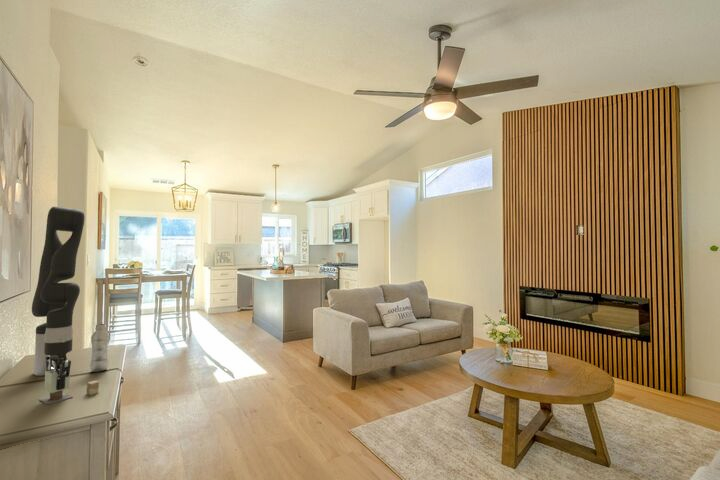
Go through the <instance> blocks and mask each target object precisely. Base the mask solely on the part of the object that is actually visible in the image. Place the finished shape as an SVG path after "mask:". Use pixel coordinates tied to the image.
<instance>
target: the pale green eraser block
mask: <svg viewBox="0 0 720 480" xmlns="http://www.w3.org/2000/svg"><path fill="white" fill-rule="evenodd" d="M57 370H60V369H57ZM59 373H60V372H59ZM56 376H57V373H54V370H51V371H45V375H44V389H43V390H44V391H45V392H46V393H49V394H50V393H54V392H58V391H61V390H63V391H64V390H68V389H70V385H71V384H70V378H71V371H70V372H69V377H66V378H65V388H64V389H61V390H57V389H56V384H57V377H56Z"/></svg>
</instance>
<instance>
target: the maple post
mask: <svg viewBox="0 0 720 480" xmlns="http://www.w3.org/2000/svg"><path fill="white" fill-rule="evenodd" d="M99 384H100V382H99V381H98V380H92V381H88V382H86V394H87V395H89V396H92V395H95V394H99V389H100V388H99V387H100V385H99Z"/></svg>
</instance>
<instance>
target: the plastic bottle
mask: <svg viewBox="0 0 720 480" xmlns="http://www.w3.org/2000/svg"><path fill="white" fill-rule="evenodd" d="M94 330H95V331H94V332H93V334H91V336H90V343H91V352H92V353H91V360H90V363H89V369H90V371H91V372H94V373H97V372H102V371H105V370H107V369H108V367H109V363H110V362H109V359H108V347H109V339H110V334H109V333H108V331H107V324H106V323H98V324H95V329H94Z"/></svg>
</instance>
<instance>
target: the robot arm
mask: <svg viewBox="0 0 720 480" xmlns="http://www.w3.org/2000/svg"><path fill="white" fill-rule="evenodd" d="M85 217H86V216H85V212H84V211H83V210H81V209H76V208H70V207H62V206H61V207H60V206H52V207H50V209H49V210H48V213H47V218H46V225H45V227H46V229H45V238H44V240H45V241H44V246H43V250H42V255H41V259H40V265H39V271H38V280H37V284H36V289H35V293H34V296H33V298H32V303H31V314H32V316H34V317H36V318H43V317H44V318H45V317H46V322H43V323H42V324H39V325H37V326H36V327H35V338H34V340H35V343H34V344H35V345H34V365H33V376H37V377H38V376H45V371H51V370H54V373H57V376H56V377H57V384H56V389H57V390H61V389H64V388H65V378H66V377H69V372H70V373H71V365H72V361H71V360H68V357H67V354H68V353H70V352H72V351H73V337H74V336H73V334H74V331H73V316H74V315H73V314H74V309H75V305H76V303H77V301H78V299H79V296H80V292H81V289H80V285H78V284H77V283H76V282H62V281H68V280H71V279H73V278H74V277H75V275H76V265H77V256H78V251H79V248H80V243H81V240H82V235H83V232H84V231H83V230H84V225H85V219H86V218H85ZM57 231H59V232H70V233H71V235H70V237H69V238H68V239H67V240H66V241H65V242H64V243H62V241H61V240H60V238H59V235H58V232H57ZM57 369H60V370H57ZM59 372H60V373H59Z"/></svg>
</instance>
